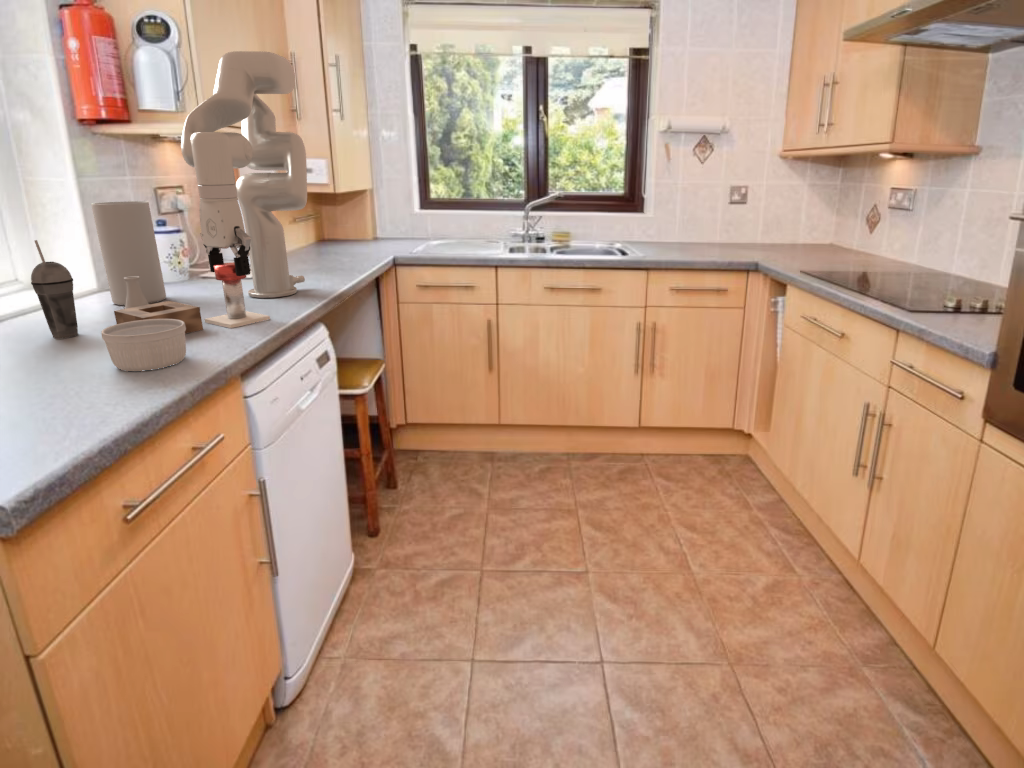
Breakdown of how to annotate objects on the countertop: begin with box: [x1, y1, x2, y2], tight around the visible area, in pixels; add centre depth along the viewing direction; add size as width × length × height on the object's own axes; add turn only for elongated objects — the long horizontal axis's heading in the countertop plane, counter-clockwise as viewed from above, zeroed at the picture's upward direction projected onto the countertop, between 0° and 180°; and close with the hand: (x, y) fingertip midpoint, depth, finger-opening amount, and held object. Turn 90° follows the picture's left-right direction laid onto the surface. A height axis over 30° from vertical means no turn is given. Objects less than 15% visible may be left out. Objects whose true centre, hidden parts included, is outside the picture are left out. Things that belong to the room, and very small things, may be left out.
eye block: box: [113, 300, 204, 335], centre depth 138 cm, size 12×12×5 cm
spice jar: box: [214, 261, 247, 319], centre depth 145 cm, size 6×6×12 cm
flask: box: [124, 276, 149, 309], centre depth 147 cm, size 7×7×10 cm
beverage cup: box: [30, 239, 79, 339], centre depth 133 cm, size 7×7×20 cm
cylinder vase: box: [90, 200, 167, 306], centre depth 165 cm, size 12×12×25 cm
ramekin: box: [100, 319, 187, 372], centre depth 116 cm, size 13×13×7 cm
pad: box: [204, 310, 271, 329], centre depth 147 cm, size 10×10×1 cm
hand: (230, 273), depth 144 cm, fingers open, 9 cm apart
